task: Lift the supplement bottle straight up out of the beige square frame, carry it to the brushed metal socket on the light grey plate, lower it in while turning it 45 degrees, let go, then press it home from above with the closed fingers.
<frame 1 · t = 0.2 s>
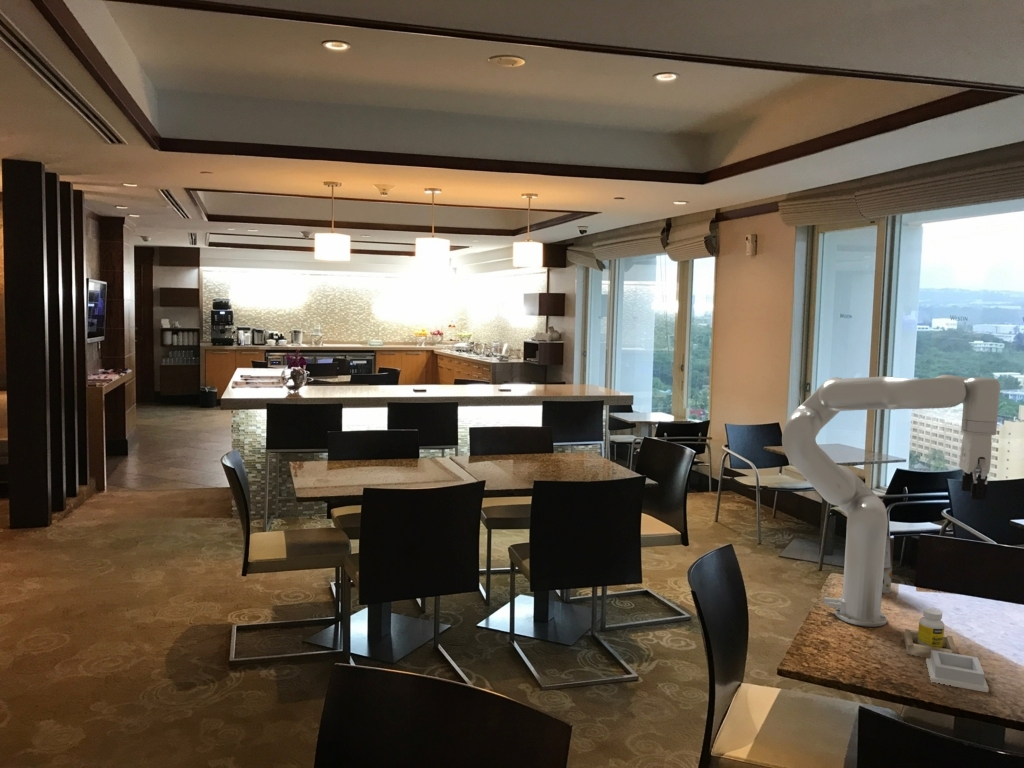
hand: (973, 495, 200), 36 cm above the table, tool pointing down, fingers open, 9 cm apart
coffee box: (872, 588, 237), on the table
socket: (955, 676, 179), on the table
beige square frame: (929, 650, 193), on the table
supplement bottle: (929, 651, 193), resting in beige square frame
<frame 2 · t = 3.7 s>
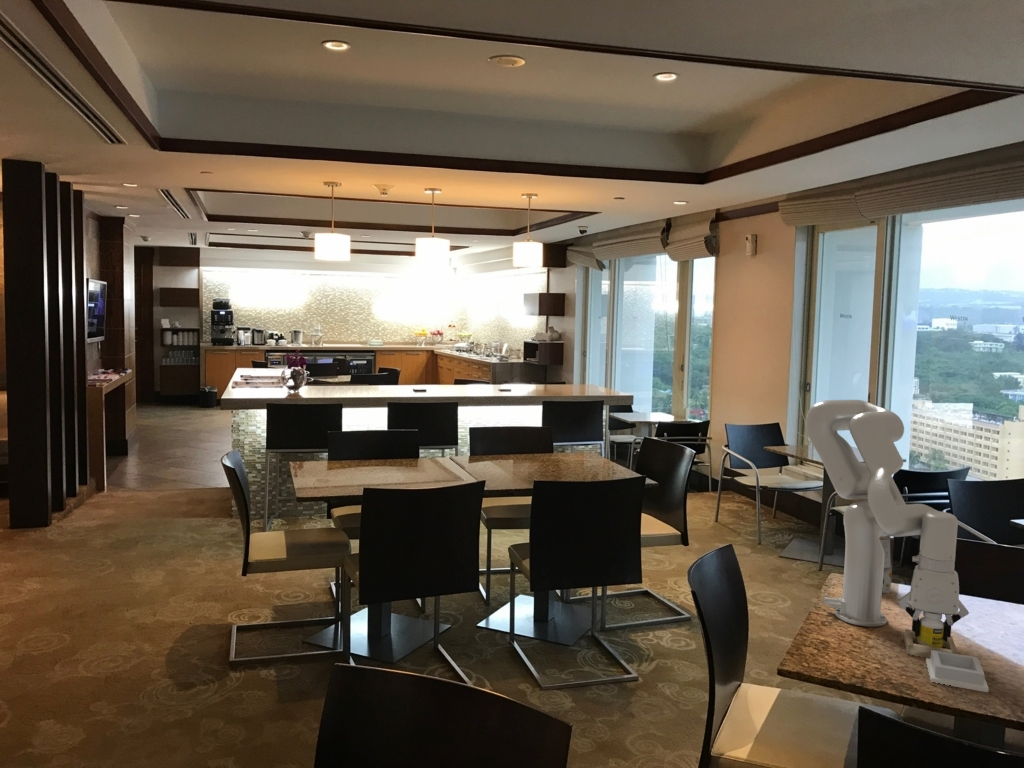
hand: (930, 636, 193), 4 cm above the table, tool pointing down, fingers closed on supplement bottle, 5 cm apart
supplement bottle: (929, 651, 193), resting in beige square frame, touching gripper
everything else where it was.
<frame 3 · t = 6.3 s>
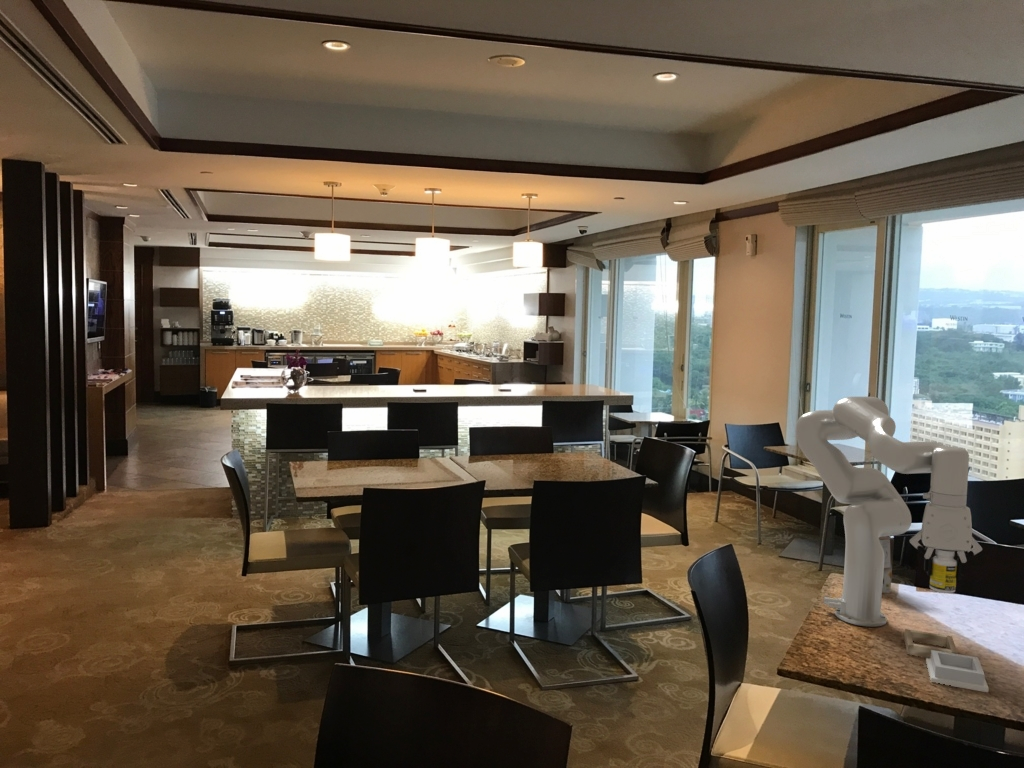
hand: (943, 575, 188), 20 cm above the table, tool pointing down, fingers closed on supplement bottle, 5 cm apart
supplement bottle: (942, 590, 188), point 16 cm above the table, touching gripper
everything else where it was.
when the fingers open (6 cm above the table, at t = 9.2 s): supplement bottle drops 1 cm, resting on socket.
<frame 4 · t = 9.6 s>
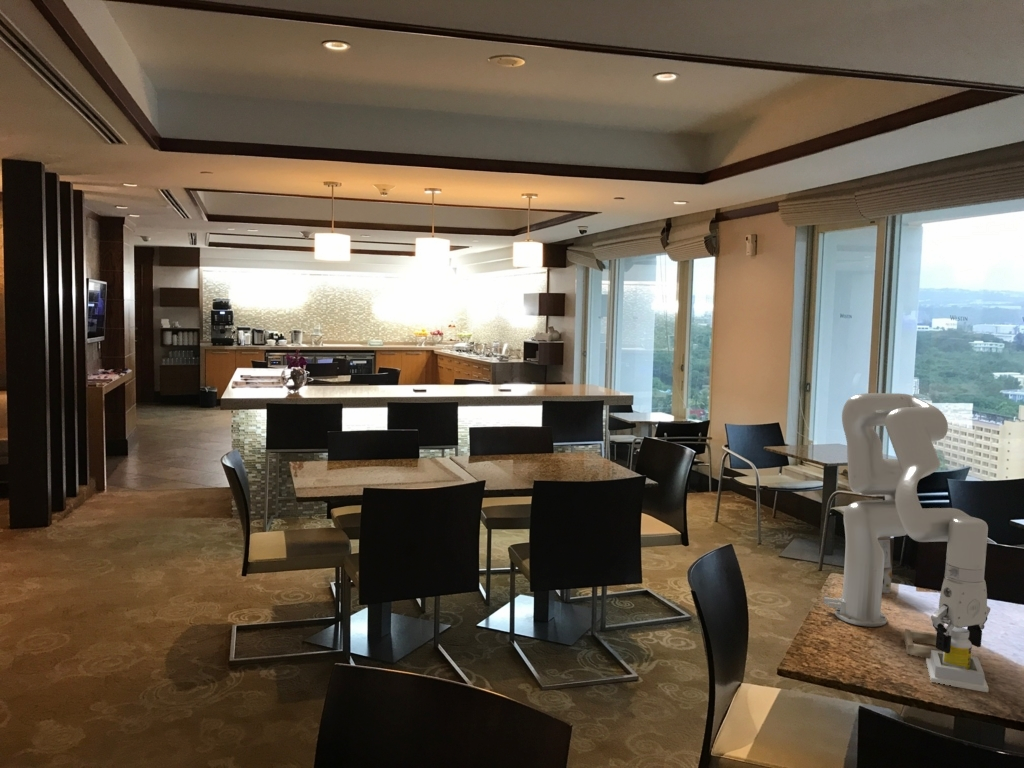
hand: (958, 647, 179), 7 cm above the table, tool pointing down, fingers open, 9 cm apart
supplement bottle: (955, 672, 180), point 1 cm above the table, touching socket
everything else where it was.
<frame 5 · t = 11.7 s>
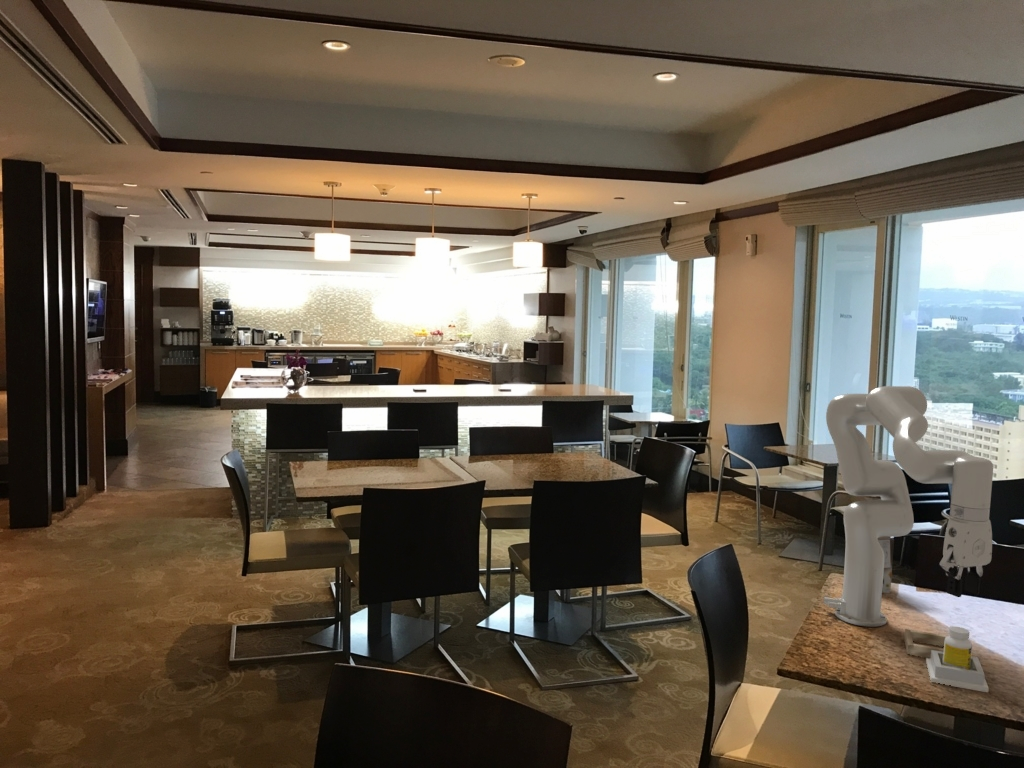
hand: (962, 592, 178), 19 cm above the table, tool pointing down, fingers open, 4 cm apart
nothing on the table moved.
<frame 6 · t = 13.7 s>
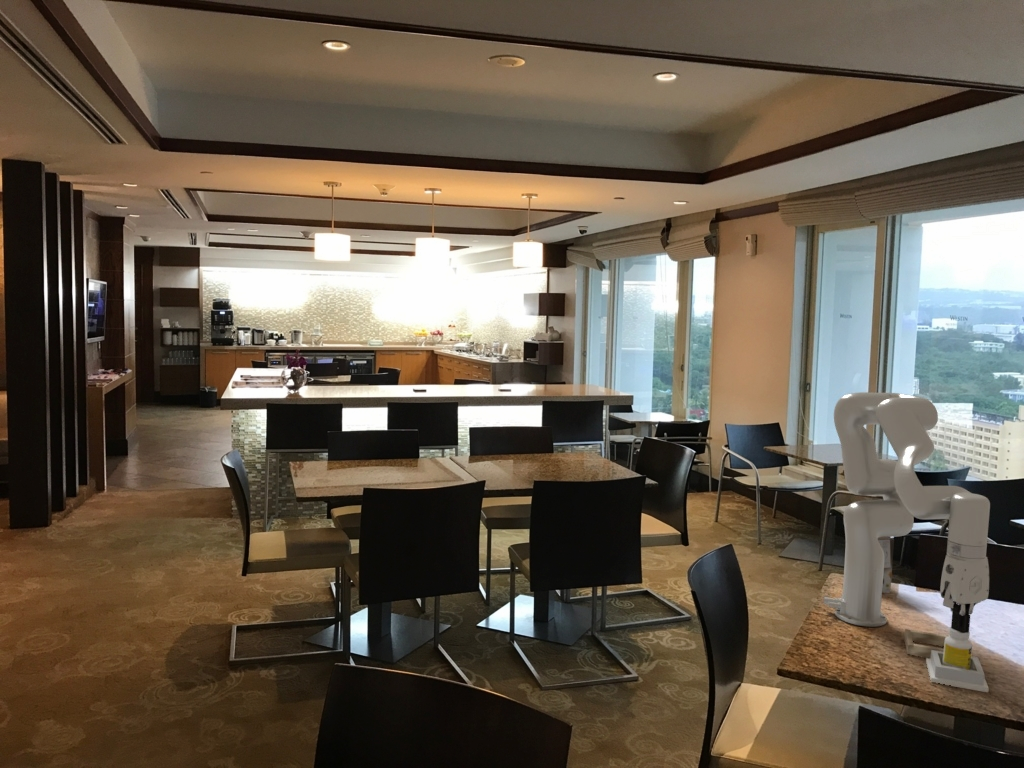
hand: (959, 630, 178), 11 cm above the table, tool pointing down, fingers closed
supplement bottle: (955, 672, 180), point 1 cm above the table, touching gripper, socket
everything else where it was.
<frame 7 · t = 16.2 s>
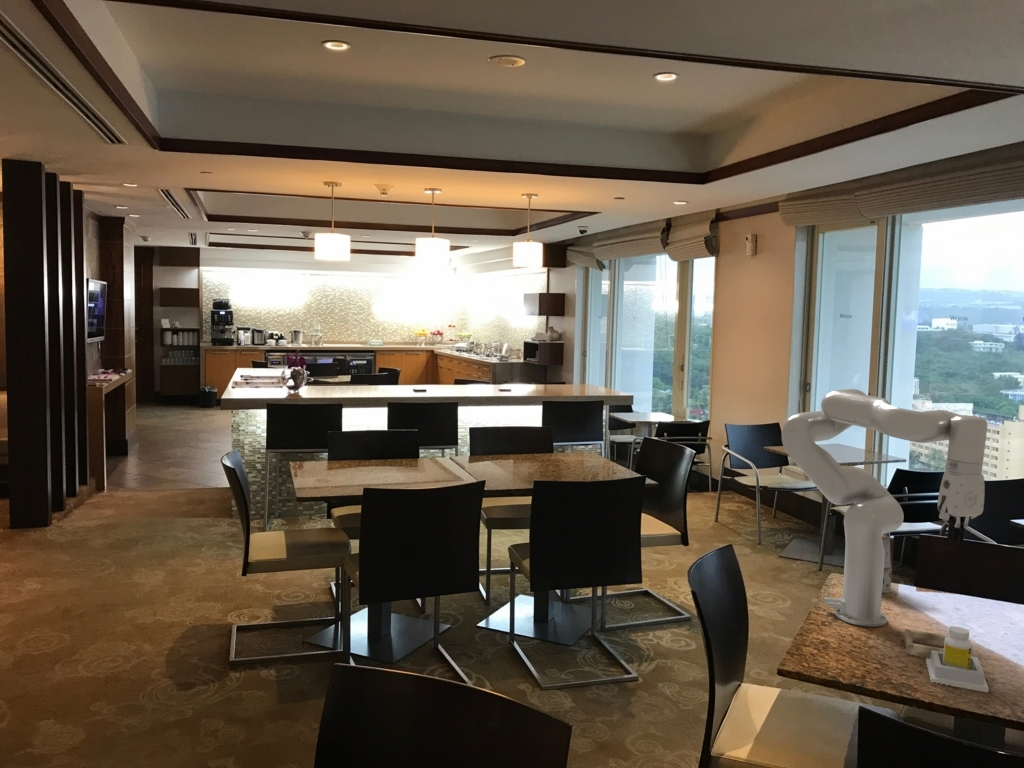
hand: (954, 542, 193), 26 cm above the table, tool pointing down, fingers closed
supplement bottle: (955, 672, 180), point 1 cm above the table, touching socket
everything else where it was.
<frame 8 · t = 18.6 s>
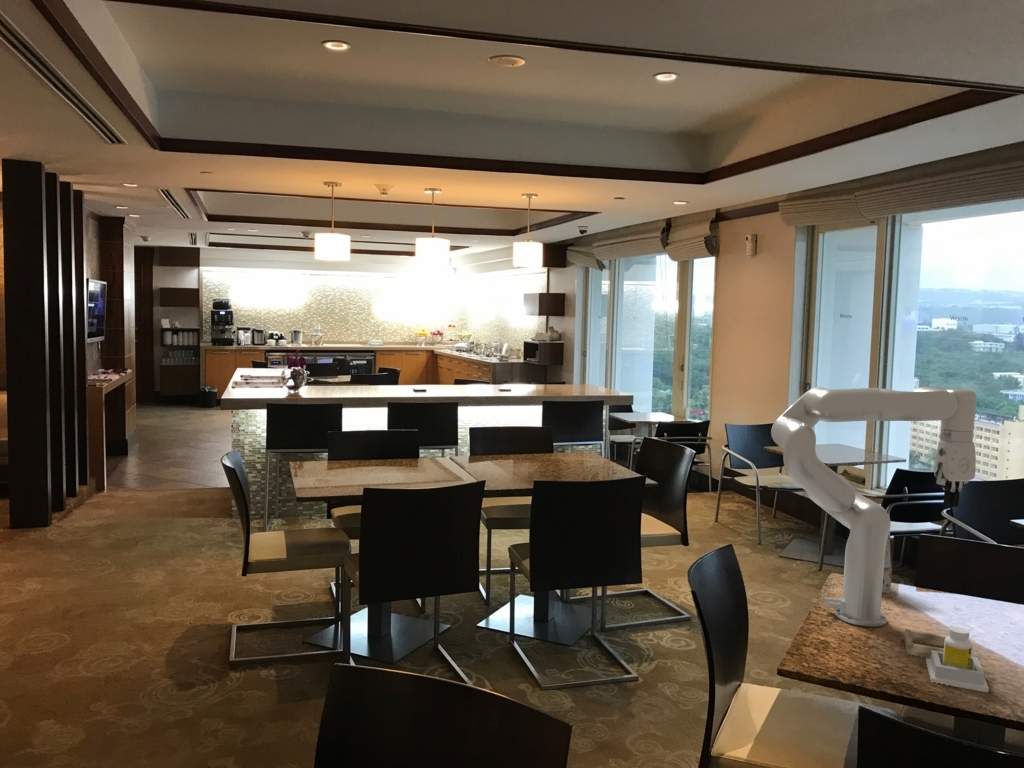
hand: (950, 505, 210), 31 cm above the table, tool pointing down, fingers closed
nothing on the table moved.
at the end: supplement bottle 0.2 cm off-centre on the socket, point 0.8 cm above the socket's base; supplement bottle tilted 0°; the gripper is holding nothing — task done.
